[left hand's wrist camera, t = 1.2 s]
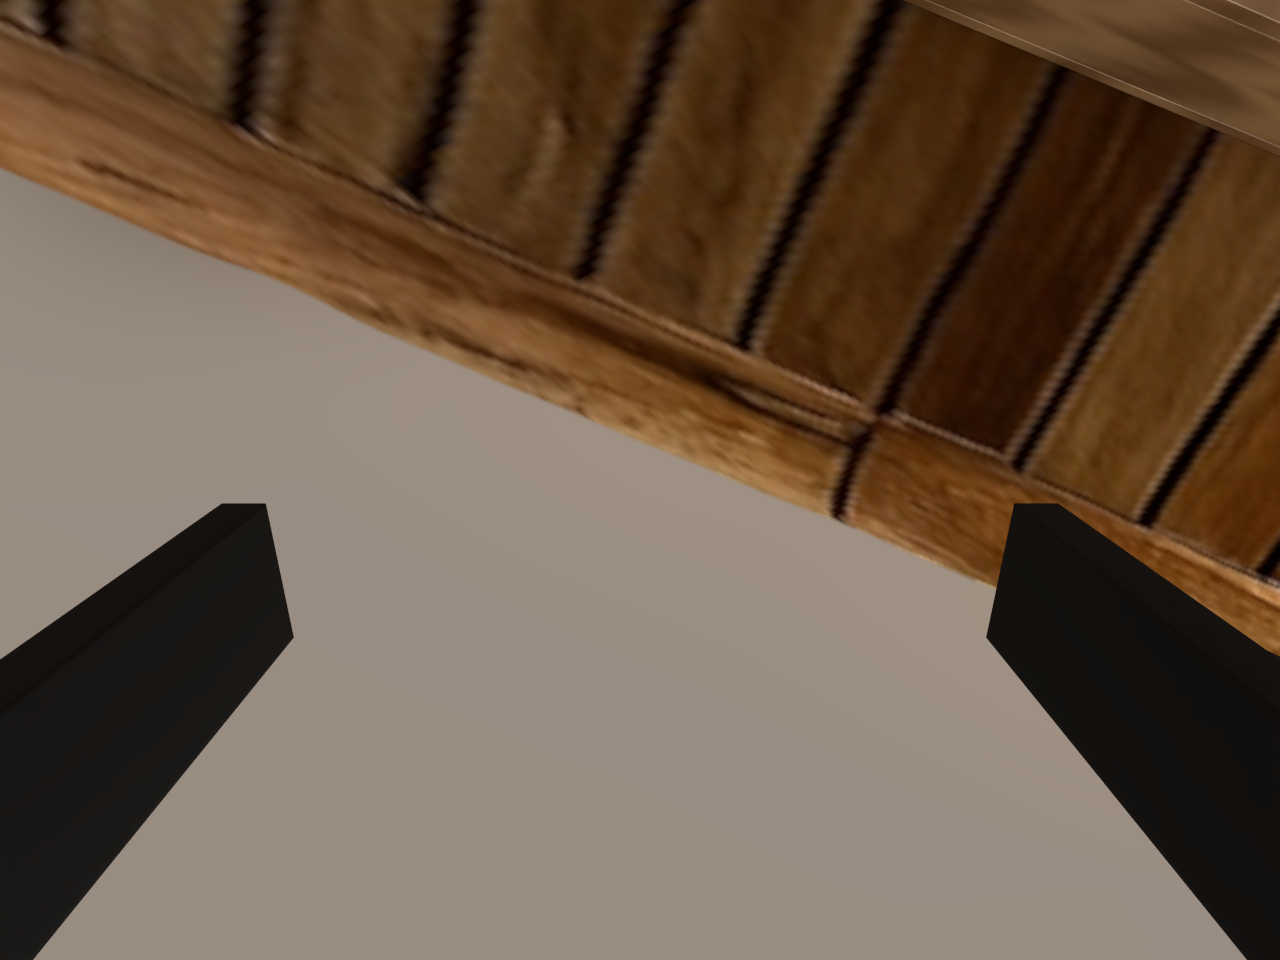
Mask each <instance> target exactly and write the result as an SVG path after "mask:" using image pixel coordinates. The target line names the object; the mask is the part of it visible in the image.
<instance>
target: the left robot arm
mask: <svg viewBox="0 0 1280 960" xmlns="http://www.w3.org/2000/svg"><path fill="white" fill-rule="evenodd" d="M293 638H294V637H293V632H292V627H291V622H290V617H289V613H288V608H287V603H286V598H285V594H284V589H283V584H282V579H281V574H280V570H279V565H278V560H277V556H276V551H275V546H274V541H273V536H272V532H271V527H270V522H269V517H268V512H267V508H266V504H221V505H219V506H218V507H216V508H215V509H213V510H212V511H211V512H209V513H208V514H206V515H205V516H204V517H202V518H201V519H199V520H198V521H196V522H195V523H194V524H192V525H191V526H189V527H188V528H187V529H185V530H184V531H182V532H181V533H179V534H178V535H177V536H175V537H174V538H172V539H171V540H169V541H168V542H167V543H165V544H164V545H162V546H161V547H159V548H158V549H157V550H155V551H154V552H152V553H151V554H150V555H148V556H147V557H145V558H144V559H142V560H141V561H140V562H138V563H137V564H135V565H134V566H132V567H131V568H130V569H128V570H127V571H125V572H124V573H123V574H121V575H120V576H118V577H117V578H115V579H114V580H113V581H111V582H110V583H108V584H107V585H105V586H104V587H103V588H101V589H100V590H98V591H97V592H96V593H94V594H93V595H91V596H90V597H88V598H87V599H86V600H84V601H83V602H81V603H80V604H79V605H77V606H76V607H74V608H73V609H71V610H70V611H69V612H67V613H66V614H64V615H63V616H61V617H60V618H59V619H57V620H56V621H54V622H53V623H52V624H50V625H49V626H47V627H46V628H44V629H43V630H42V631H40V632H39V633H37V634H36V635H34V636H33V637H32V638H30V639H29V640H27V641H26V642H24V643H23V644H22V645H20V646H19V647H17V648H16V649H15V650H13V651H12V652H10V653H9V654H7V655H6V656H5V657H3V658H2V659H0V960H33V959H34V958H35V957H36V955H37V954H38V953H39V952H40V950H41V949H42V948H43V947H44V945H45V944H46V943H47V942H48V941H49V939H50V938H51V937H52V936H53V934H54V933H55V932H56V931H57V929H58V928H59V927H60V926H61V924H62V923H63V922H64V921H65V919H66V918H67V917H68V916H69V915H70V913H71V912H72V911H73V910H74V908H75V907H76V906H77V905H78V903H79V902H80V901H81V900H82V899H83V897H84V896H85V895H86V893H87V892H88V891H89V890H90V889H91V887H92V886H93V885H94V884H95V882H96V881H97V880H98V879H99V877H100V876H101V875H102V874H103V873H104V871H105V870H106V869H107V868H108V866H109V865H110V864H111V863H112V861H113V860H114V859H115V858H116V856H117V855H118V854H119V853H120V852H121V850H122V849H123V848H124V847H125V845H126V844H127V843H128V842H129V840H130V839H131V838H132V837H133V835H134V834H135V833H136V832H137V831H138V829H139V828H140V827H141V826H142V824H143V823H144V822H145V821H146V819H147V818H148V817H149V816H150V814H151V813H152V812H153V811H154V810H155V808H156V807H157V806H158V805H159V803H160V802H161V801H162V800H163V798H164V797H165V796H166V795H167V793H168V792H169V791H170V790H171V788H172V787H173V786H174V785H175V783H176V782H177V781H178V780H179V779H180V777H181V776H182V775H183V774H184V772H185V771H186V770H187V769H188V768H189V766H190V765H191V764H192V763H193V761H194V760H195V759H196V758H197V756H198V755H199V754H200V753H201V751H202V750H203V749H204V748H205V746H206V745H207V744H208V743H209V741H210V740H211V739H212V738H213V737H214V735H215V734H216V733H217V732H218V730H219V729H220V728H221V727H222V725H223V724H224V723H225V722H226V721H227V719H228V718H229V717H230V716H231V714H232V713H233V712H234V711H235V709H236V708H237V707H238V706H239V704H240V703H241V702H242V701H243V699H244V698H245V697H246V696H247V695H248V693H249V692H250V691H251V690H252V688H253V687H254V686H255V685H256V683H257V682H258V681H259V680H260V679H261V677H262V676H263V675H264V674H265V672H266V671H267V670H268V669H269V667H270V666H271V665H272V664H273V662H274V661H275V660H276V659H277V657H278V656H279V655H280V654H281V653H282V651H283V650H284V649H285V648H286V646H287V645H288V644H289V643H290V641H291V640H292V639H293ZM986 638H987V639H988V640H989V641H990V643H991V644H992V645H993V646H994V648H995V649H996V650H997V651H998V653H999V654H1000V655H1001V656H1002V657H1003V659H1004V660H1005V661H1006V662H1007V664H1008V665H1009V666H1010V667H1011V669H1012V670H1013V671H1014V672H1015V674H1016V675H1017V676H1018V677H1019V678H1020V680H1021V681H1022V682H1023V683H1024V685H1025V686H1026V687H1027V688H1028V690H1029V691H1030V692H1031V693H1032V695H1033V696H1034V697H1035V698H1036V700H1037V701H1038V702H1039V703H1040V704H1041V706H1042V707H1043V708H1044V709H1045V711H1046V712H1047V713H1048V714H1049V716H1050V717H1051V718H1052V719H1053V720H1054V722H1055V723H1056V724H1057V725H1058V727H1059V728H1060V729H1061V730H1062V732H1063V733H1064V734H1065V735H1066V737H1067V738H1068V739H1069V740H1070V742H1071V743H1072V744H1073V745H1074V746H1075V748H1076V749H1077V750H1078V751H1079V753H1080V754H1081V755H1082V756H1083V758H1084V759H1085V760H1086V761H1087V763H1088V764H1089V765H1090V766H1091V768H1092V769H1093V770H1094V771H1095V772H1096V774H1097V775H1098V776H1099V777H1100V779H1101V780H1102V781H1103V782H1104V784H1105V785H1106V786H1107V787H1108V789H1109V790H1110V791H1111V792H1112V793H1113V795H1114V796H1115V797H1116V798H1117V800H1118V801H1119V802H1120V803H1121V805H1122V806H1123V807H1124V808H1125V809H1126V811H1127V812H1128V813H1129V814H1130V816H1131V817H1132V818H1133V819H1134V821H1135V822H1136V823H1137V824H1138V826H1139V827H1140V828H1141V829H1142V831H1143V832H1144V833H1145V834H1146V835H1147V837H1148V838H1149V839H1150V840H1151V842H1152V843H1153V844H1154V845H1155V847H1156V848H1157V849H1158V850H1159V851H1160V853H1161V854H1162V855H1163V857H1164V858H1165V859H1166V860H1167V861H1168V863H1169V864H1170V865H1171V866H1172V868H1173V869H1174V870H1175V871H1176V873H1177V874H1178V875H1179V876H1180V877H1181V879H1182V880H1183V881H1184V882H1185V884H1186V885H1187V886H1188V887H1189V889H1190V890H1191V891H1192V892H1193V894H1194V895H1195V896H1196V897H1197V899H1198V900H1199V901H1200V902H1201V903H1202V905H1203V906H1204V907H1205V908H1206V910H1207V911H1208V912H1209V913H1210V915H1211V916H1212V917H1213V918H1214V920H1215V921H1216V922H1217V923H1218V924H1219V926H1220V927H1221V928H1222V929H1223V931H1224V932H1225V933H1226V934H1227V936H1228V937H1229V938H1230V939H1231V941H1232V942H1233V943H1234V944H1235V945H1236V947H1237V948H1238V949H1239V950H1240V952H1241V953H1242V954H1243V955H1244V957H1245V958H1246V959H1247V960H1280V656H1278V655H1276V654H1273V653H1271V652H1269V651H1267V650H1265V649H1264V648H1263V647H1261V646H1260V645H1258V644H1257V643H1256V642H1254V641H1253V640H1251V639H1250V638H1248V637H1247V636H1246V635H1244V634H1243V633H1241V632H1240V631H1238V630H1237V629H1236V628H1234V627H1233V626H1231V625H1230V624H1229V623H1227V622H1226V621H1224V620H1223V619H1221V618H1220V617H1219V616H1217V615H1216V614H1214V613H1213V612H1211V611H1210V610H1209V609H1207V608H1206V607H1204V606H1203V605H1202V604H1200V603H1199V602H1197V601H1196V600H1194V599H1193V598H1192V597H1190V596H1189V595H1187V594H1186V593H1184V592H1183V591H1182V590H1180V589H1179V588H1177V587H1176V586H1175V585H1173V584H1172V583H1170V582H1169V581H1167V580H1166V579H1165V578H1163V577H1162V576H1160V575H1159V574H1157V573H1156V572H1155V571H1153V570H1152V569H1150V568H1149V567H1148V566H1146V565H1145V564H1143V563H1142V562H1140V561H1139V560H1138V559H1136V558H1135V557H1133V556H1132V555H1130V554H1129V553H1128V552H1126V551H1125V550H1123V549H1122V548H1121V547H1119V546H1118V545H1116V544H1115V543H1113V542H1112V541H1111V540H1109V539H1108V538H1106V537H1105V536H1103V535H1102V534H1101V533H1099V532H1098V531H1096V530H1095V529H1094V528H1092V527H1091V526H1089V525H1088V524H1086V523H1085V522H1084V521H1082V520H1081V519H1079V518H1078V517H1076V516H1075V515H1074V514H1072V513H1071V512H1069V511H1068V510H1067V509H1065V508H1064V507H1062V506H1061V505H1059V504H1014V508H1013V512H1012V517H1011V522H1010V527H1009V531H1008V536H1007V541H1006V546H1005V551H1004V555H1003V560H1002V565H1001V570H1000V574H999V579H998V584H997V589H996V594H995V599H994V603H993V608H992V613H991V618H990V622H989V627H988V632H987V637H986Z"/></svg>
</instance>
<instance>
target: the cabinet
mask: <svg viewBox="0 0 1280 960" xmlns="http://www.w3.org/2000/svg"><path fill="white" fill-rule="evenodd" d="M904 1H906V2H909V3H911V4H914V5H916V6H918V7H921V8H923V9H926V10H928V11H931V12H933V13H935V14H938V15H940V16H943V17H945V18H947V19H950V20H952V21H955V22H957V23H959V24H962V25H964V26H967V27H969V28H972V29H974V30H976V31H979V32H981V33H984V34H986V35H988V36H991V37H993V38H996V39H998V40H1000V41H1003V42H1005V43H1008V44H1010V45H1013V46H1015V47H1017V48H1020V49H1022V50H1025V51H1027V52H1029V53H1032V54H1034V55H1037V56H1039V57H1041V58H1044V59H1046V60H1049V61H1051V62H1054V63H1056V64H1058V65H1061V66H1063V67H1066V68H1068V69H1070V70H1073V71H1075V72H1078V73H1080V74H1082V75H1085V76H1087V77H1090V78H1092V79H1095V80H1097V81H1099V82H1102V83H1104V84H1107V85H1109V86H1111V87H1114V88H1116V89H1119V90H1121V91H1123V92H1126V93H1128V94H1131V95H1133V96H1136V97H1138V98H1140V99H1143V100H1145V101H1148V102H1150V103H1152V104H1155V105H1157V106H1160V107H1162V108H1164V109H1167V110H1169V111H1172V112H1174V113H1177V114H1179V115H1181V116H1184V117H1186V118H1189V119H1191V120H1193V121H1196V122H1198V123H1201V124H1203V125H1205V126H1208V127H1210V128H1213V129H1215V130H1218V131H1220V132H1222V133H1225V134H1227V135H1230V136H1232V137H1234V138H1237V139H1239V140H1242V141H1244V142H1246V143H1249V144H1251V145H1254V146H1256V147H1259V148H1261V149H1263V150H1266V151H1268V152H1271V153H1273V154H1275V155H1278V156H1280V0H904Z"/></svg>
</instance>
